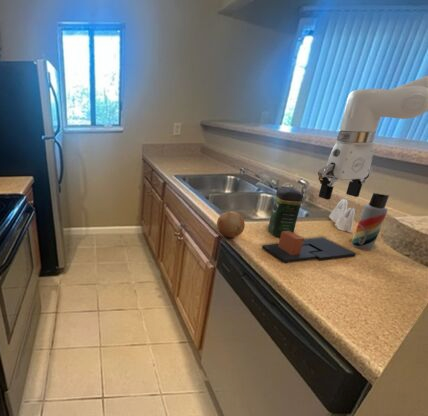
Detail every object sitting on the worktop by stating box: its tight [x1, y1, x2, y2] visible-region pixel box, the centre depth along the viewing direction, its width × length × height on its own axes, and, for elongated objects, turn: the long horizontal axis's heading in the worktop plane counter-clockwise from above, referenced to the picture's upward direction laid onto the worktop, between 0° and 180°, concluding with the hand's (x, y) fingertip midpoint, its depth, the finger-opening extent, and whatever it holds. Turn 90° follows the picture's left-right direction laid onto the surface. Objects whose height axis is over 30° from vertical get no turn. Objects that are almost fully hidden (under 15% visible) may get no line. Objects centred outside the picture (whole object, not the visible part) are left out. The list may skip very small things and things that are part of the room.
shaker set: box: [328, 198, 356, 233], centre depth 112 cm, size 12×4×11 cm, turn 162°
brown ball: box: [216, 211, 246, 238], centre depth 105 cm, size 10×10×10 cm
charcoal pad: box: [302, 236, 357, 262], centre depth 96 cm, size 14×12×1 cm
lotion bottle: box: [351, 192, 390, 251], centre depth 94 cm, size 6×6×20 cm
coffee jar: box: [267, 185, 304, 238], centre depth 105 cm, size 10×8×19 cm
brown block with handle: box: [261, 231, 318, 264], centre depth 93 cm, size 16×10×7 cm, turn 100°
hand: (338, 196), depth 81 cm, fingers open, 9 cm apart
